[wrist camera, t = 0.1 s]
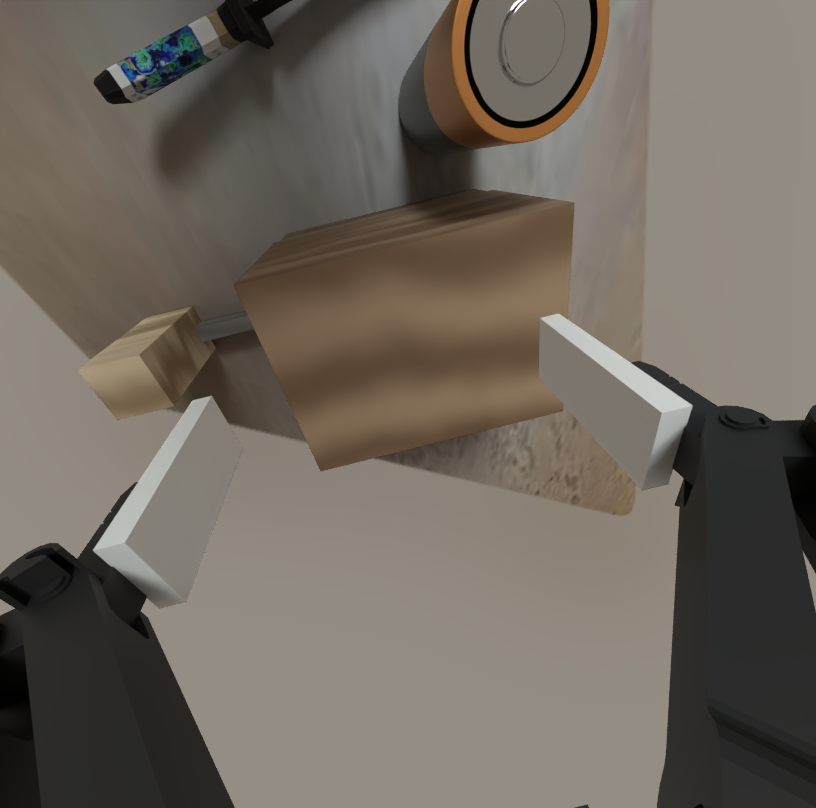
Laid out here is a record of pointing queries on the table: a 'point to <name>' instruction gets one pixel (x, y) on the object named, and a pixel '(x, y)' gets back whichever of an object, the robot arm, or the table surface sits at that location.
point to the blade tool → (157, 360)
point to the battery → (501, 72)
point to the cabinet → (413, 320)
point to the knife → (187, 50)
